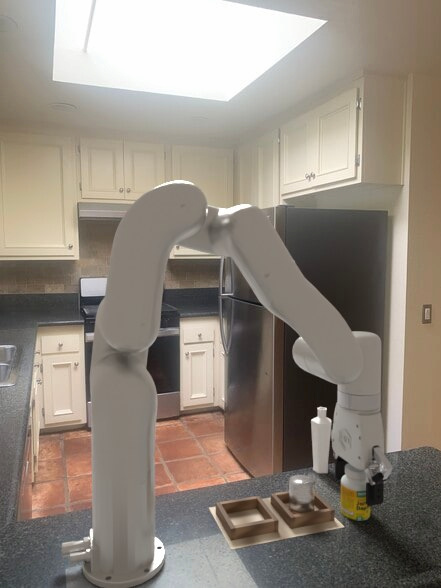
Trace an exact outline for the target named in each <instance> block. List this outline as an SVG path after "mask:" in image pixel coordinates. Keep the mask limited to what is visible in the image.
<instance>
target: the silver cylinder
mask: <svg viewBox="0 0 441 588" xmlns="http://www.w3.org/2000/svg"><path fill="white" fill-rule="evenodd" d="M288 485H289V486H288V488H289V489H288V491H289V510H290V511H291V513H292V514H293V515H294V514H300V513H305V512H311V511H314V509H315V508H314V496H315V492H316V491H315V490H316V489H315V487H316V486H315V485H316V482H315V479H314V478H313V477H311V476H309V475H306V474H294V475H292V476H290V477H289V484H288Z"/></svg>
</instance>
